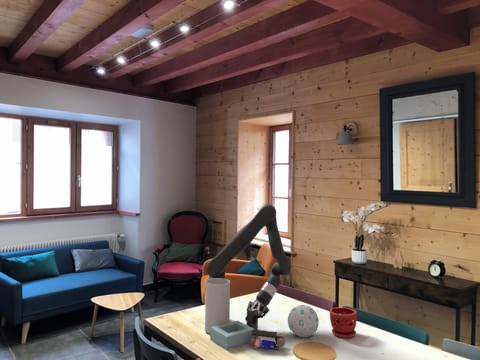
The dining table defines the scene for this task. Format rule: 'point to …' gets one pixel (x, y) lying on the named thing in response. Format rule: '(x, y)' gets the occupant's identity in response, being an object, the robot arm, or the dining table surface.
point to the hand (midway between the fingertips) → (249, 322)
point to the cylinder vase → (217, 302)
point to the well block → (231, 334)
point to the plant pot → (343, 322)
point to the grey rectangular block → (250, 316)
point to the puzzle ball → (303, 321)
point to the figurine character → (266, 343)
